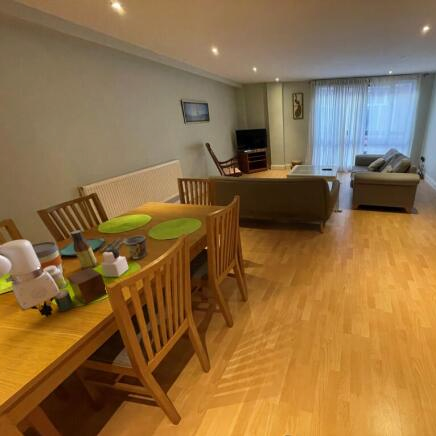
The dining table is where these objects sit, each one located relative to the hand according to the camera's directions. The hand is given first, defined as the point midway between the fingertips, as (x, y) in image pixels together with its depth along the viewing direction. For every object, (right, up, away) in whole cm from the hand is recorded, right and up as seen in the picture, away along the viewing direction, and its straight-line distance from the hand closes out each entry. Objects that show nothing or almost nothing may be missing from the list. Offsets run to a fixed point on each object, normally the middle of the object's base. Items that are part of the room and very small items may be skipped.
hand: (48, 314), depth 91 cm
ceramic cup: (+9, +15, +40) cm, 44 cm away
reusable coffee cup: (-24, +9, +25) cm, 36 cm away
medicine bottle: (+7, +10, +27) cm, 29 cm away
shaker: (+3, +4, +3) cm, 6 cm away
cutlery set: (-23, +19, +49) cm, 57 cm away
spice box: (+7, +4, +12) cm, 14 cm away
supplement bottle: (-12, +5, +16) cm, 21 cm away
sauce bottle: (-11, +12, +32) cm, 35 cm away
